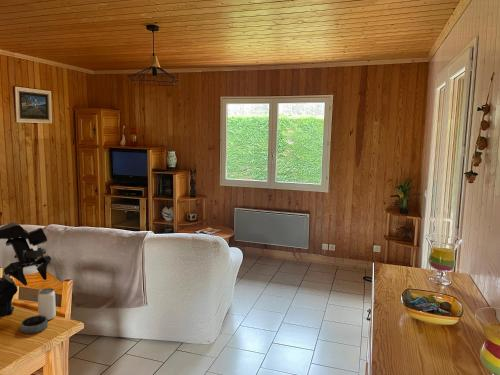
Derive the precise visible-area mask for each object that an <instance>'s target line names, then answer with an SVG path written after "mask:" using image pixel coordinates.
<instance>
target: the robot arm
mask: <svg viewBox="0 0 500 375" xmlns="http://www.w3.org/2000/svg"><path fill="white" fill-rule="evenodd" d="M0 240H6V241H5V246H6V247H7V246H9V247H10V246H11V247H12V249H13V251H14V254H15V255H14V256H13V257H14V259H17V261H14V262H11V263H9V264H8V265H6V266H5V267H4V268H3V273H4V275H3V276H2V277H0V317H1V316H5V315H6V316H8V315H12V314H13V312H14V309H15V306H13V298H14V296H15V295H16V294H17V292H18V286H17V284H16V283H15V282H16V281H15V280H17V281H18V282H20V283H21V284H23V285H24V286H27V285H28V281H27V279H26V276H25V274H24V269H25V268H29V267H32V266H35V267H36V270H37V272H38V273H39V275H40V276H41V278H42V279H43V281H46V280H48V278H47V274H48V273H47V272H48V271H47V269H48V266H49V264H50V262H51V261H52V258H51V256H50V255H45V254H47V251H46V250H47V249H46V248H45V246H41V247H38V248H37V250H34V248H31V247H30V246H31V245H32V246H33V247H35V246H39V245H41V244H43V243H47V242H48V237H47V236H46V234H45V232H44V230H43V228H42V227H39V228H36V229H34V230H32V231H31V230H30V231H28V230H26V229H24V228H23V227H22V226H21V225H20V223H18V222H15V221H14V222H10V223H7V224H4V225H2V226H0ZM29 245H30V246H29ZM7 275H8V276H7ZM13 278H14V279H15V280H14V279H13Z"/></svg>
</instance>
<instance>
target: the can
mask: <svg viewBox="0 0 500 375" xmlns="http://www.w3.org/2000/svg"><path fill="white" fill-rule="evenodd" d="M37 310H38V311H37V312H38V315H40V316H45V317H47V321H50V320H53V319H55V317H56V314H57V313H56V293H55V290H54V288H51V287H48V288H42V289H40V290H39V291H38V293H37ZM38 315H37V316H38Z"/></svg>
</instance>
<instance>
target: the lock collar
mask: <svg viewBox="0 0 500 375" xmlns="http://www.w3.org/2000/svg"><path fill="white" fill-rule="evenodd" d="M47 328H48V320H47V317H45V316H40V315H32V316H29V317H26V318H24V319H22V321H20V332H21V333H22V334H25V335H34V334H38V333H42V332H43V331H45V330H47Z"/></svg>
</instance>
